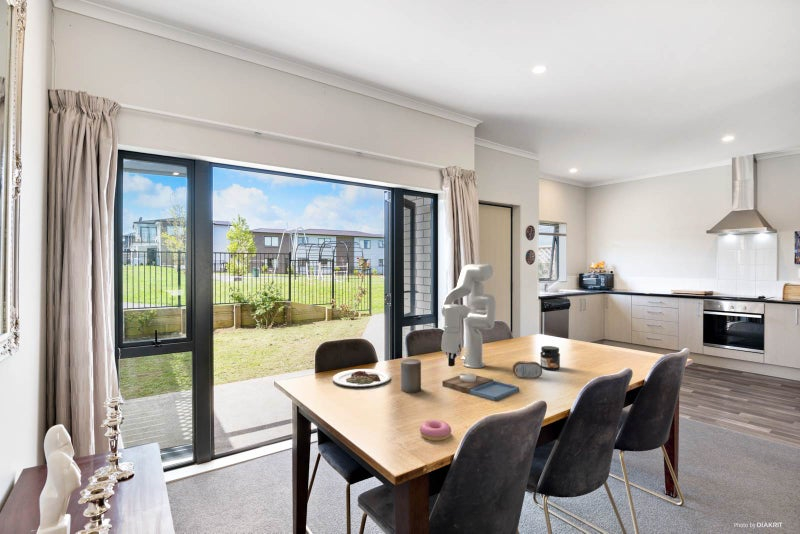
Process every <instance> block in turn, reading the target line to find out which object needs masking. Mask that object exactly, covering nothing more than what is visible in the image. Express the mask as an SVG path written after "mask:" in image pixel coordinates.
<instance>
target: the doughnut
mask: <svg viewBox="0 0 800 534" xmlns="http://www.w3.org/2000/svg"><path fill="white" fill-rule="evenodd" d="M419 431H420V434H421V436H422V437H423V438H424V439H426V440H429V441H433V442H434V441H435V442H439V441H445V440H447V439H448V438H450V436H451V433H452V428H451V426H450V425H449V423H447V422H445V421H444V420H439V419H436V420H435V419H431V420H427V421H424V422H423V423H422V424H421V425H420V427H419Z"/></svg>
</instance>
